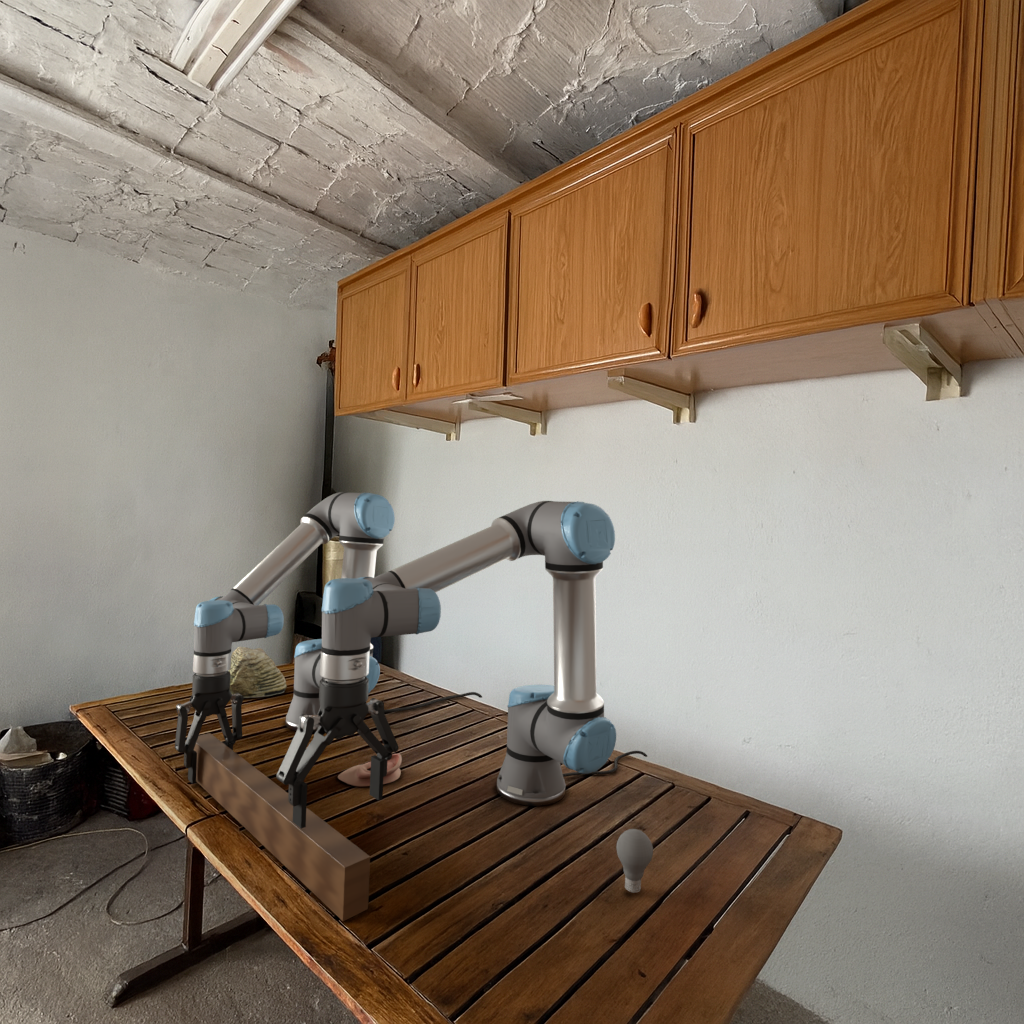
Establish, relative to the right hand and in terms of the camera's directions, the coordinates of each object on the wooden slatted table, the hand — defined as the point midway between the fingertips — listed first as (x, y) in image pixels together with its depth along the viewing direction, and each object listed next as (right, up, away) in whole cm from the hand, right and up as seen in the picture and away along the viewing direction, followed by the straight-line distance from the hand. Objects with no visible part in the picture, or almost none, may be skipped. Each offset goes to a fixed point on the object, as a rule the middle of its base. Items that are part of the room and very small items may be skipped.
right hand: (339, 810), depth 101 cm
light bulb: (+48, -16, +5) cm, 50 cm away
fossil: (-53, -10, +98) cm, 111 cm away
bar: (-20, -13, +20) cm, 31 cm away
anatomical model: (-5, -13, +44) cm, 46 cm away
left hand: (-39, -11, +39) cm, 56 cm away
